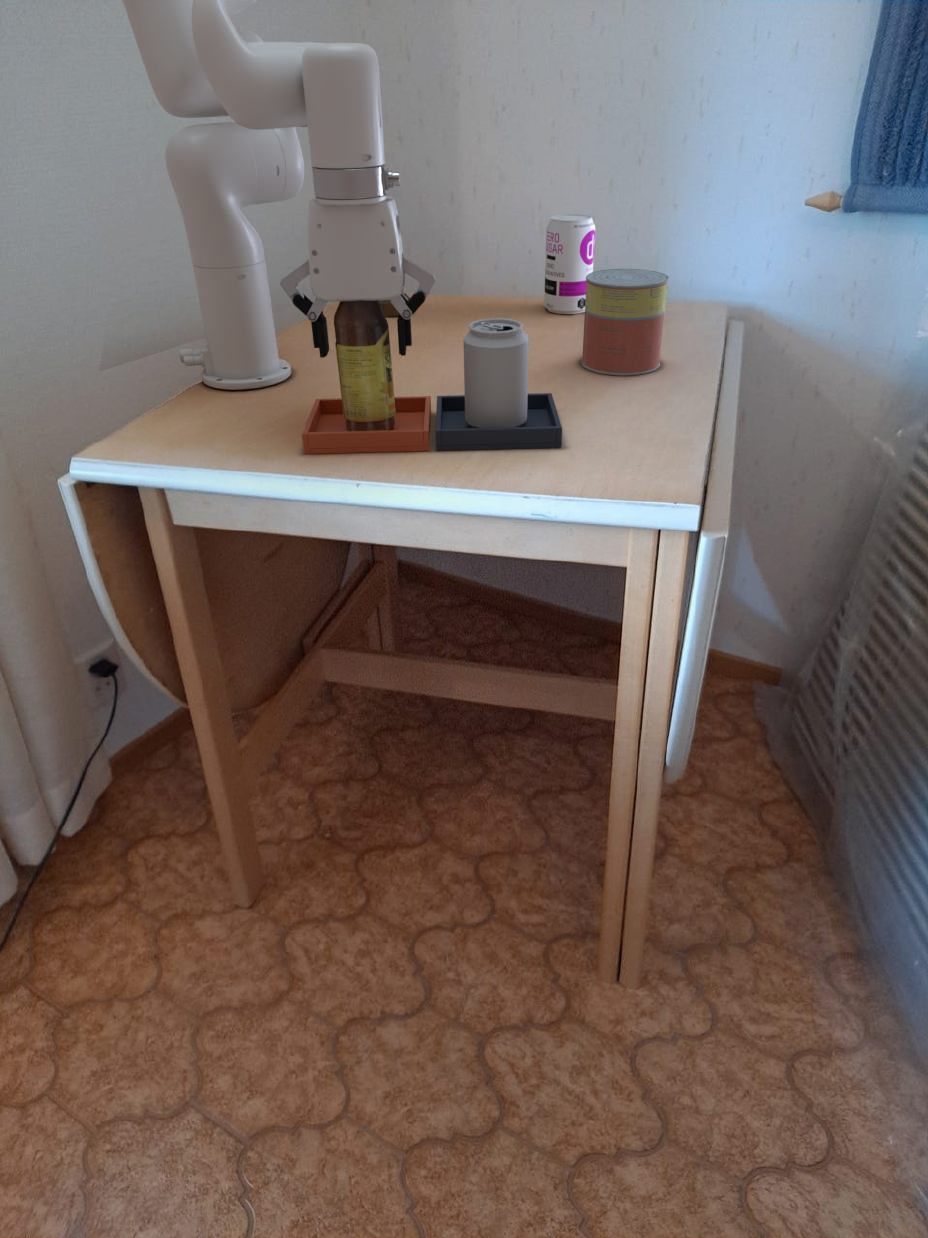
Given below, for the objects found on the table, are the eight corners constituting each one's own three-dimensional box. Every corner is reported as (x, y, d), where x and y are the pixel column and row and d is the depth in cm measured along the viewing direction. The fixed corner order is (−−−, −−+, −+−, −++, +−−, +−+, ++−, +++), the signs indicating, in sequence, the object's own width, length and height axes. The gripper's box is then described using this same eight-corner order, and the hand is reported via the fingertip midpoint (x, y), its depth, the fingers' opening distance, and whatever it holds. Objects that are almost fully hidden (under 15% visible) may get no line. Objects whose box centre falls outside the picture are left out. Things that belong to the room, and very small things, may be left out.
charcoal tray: (436, 450, 99) (435, 430, 98) (437, 414, 109) (436, 395, 108) (561, 447, 99) (562, 427, 98) (551, 411, 109) (551, 392, 108)
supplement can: (597, 306, 154) (603, 215, 146) (577, 317, 149) (582, 222, 141) (557, 301, 158) (560, 212, 150) (536, 311, 152) (538, 219, 144)
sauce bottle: (403, 433, 102) (392, 254, 92) (352, 441, 101) (334, 259, 90) (387, 415, 108) (374, 244, 97) (338, 423, 106) (319, 249, 95)
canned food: (675, 362, 126) (685, 275, 119) (628, 380, 119) (636, 289, 113) (613, 348, 132) (619, 265, 126) (565, 364, 126) (569, 277, 119)
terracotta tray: (304, 453, 99) (301, 434, 98) (318, 417, 110) (315, 398, 108) (429, 450, 99) (428, 430, 98) (431, 414, 109) (430, 395, 108)
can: (522, 438, 100) (524, 332, 94) (459, 434, 102) (456, 330, 95) (531, 415, 106) (533, 315, 100) (471, 412, 108) (470, 313, 101)
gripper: (434, 179, 93) (439, 342, 102) (272, 182, 93) (293, 345, 102) (433, 187, 87) (439, 361, 96) (260, 191, 87) (283, 364, 96)
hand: (363, 352), depth 99 cm, fingers open, 8 cm apart
